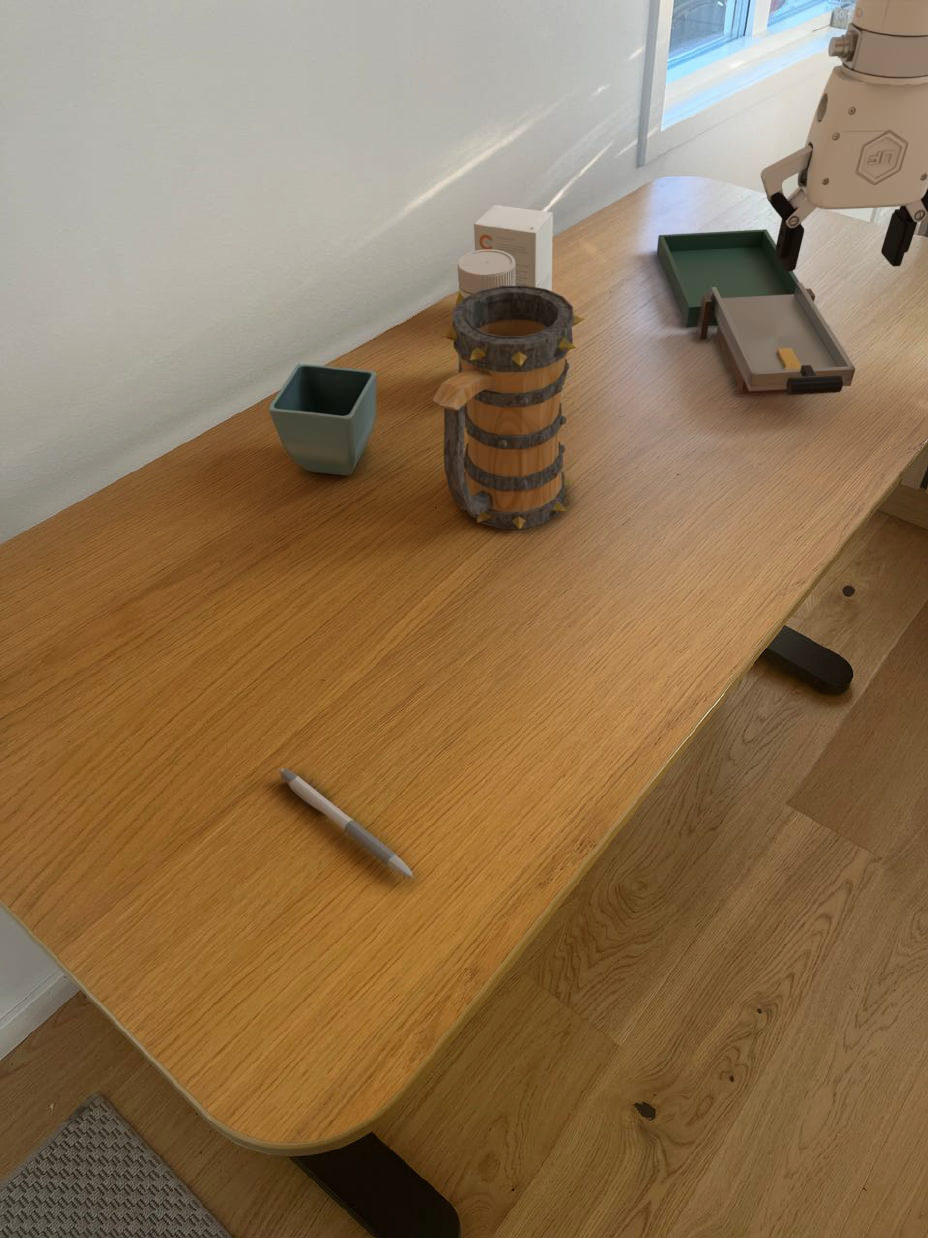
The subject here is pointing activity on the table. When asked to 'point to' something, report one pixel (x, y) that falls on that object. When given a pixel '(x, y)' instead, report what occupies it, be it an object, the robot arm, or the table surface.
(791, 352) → the yellow block
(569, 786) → the table surface
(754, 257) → the tray
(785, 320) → the grey pull-out drawer
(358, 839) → the pen
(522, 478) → the mug
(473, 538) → the table surface
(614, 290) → the table surface
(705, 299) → the stand
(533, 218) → the small box
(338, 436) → the flower pot
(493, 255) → the bottle
